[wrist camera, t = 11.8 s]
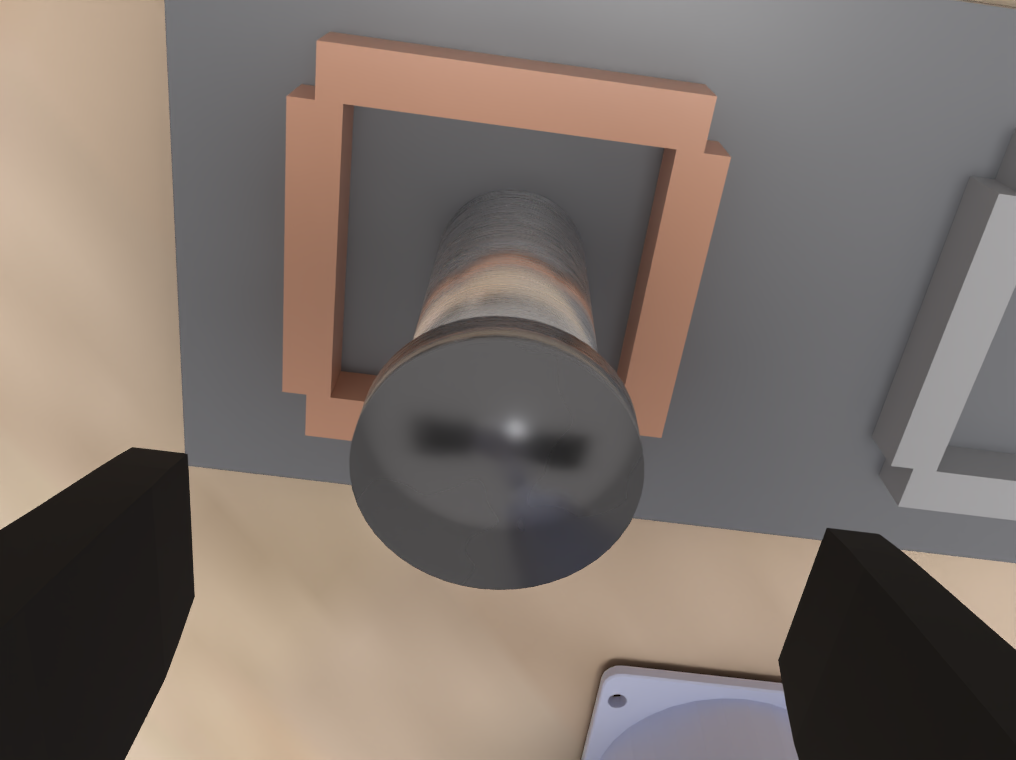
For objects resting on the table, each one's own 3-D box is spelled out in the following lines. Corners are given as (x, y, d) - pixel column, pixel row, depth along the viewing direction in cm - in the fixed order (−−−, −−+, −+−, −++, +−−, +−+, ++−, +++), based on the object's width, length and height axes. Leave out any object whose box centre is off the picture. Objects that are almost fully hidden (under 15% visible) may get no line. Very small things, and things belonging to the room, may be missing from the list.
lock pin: (587, 354, 19) (615, 604, 13) (412, 332, 19) (342, 572, 12) (619, 182, 18) (672, 364, 11) (426, 157, 17) (355, 324, 11)
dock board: (1218, 564, 23) (1282, 624, 21) (199, 442, 22) (167, 495, 20) (1528, 83, 17) (1653, 105, 15) (179, -116, 16) (131, -118, 14)
